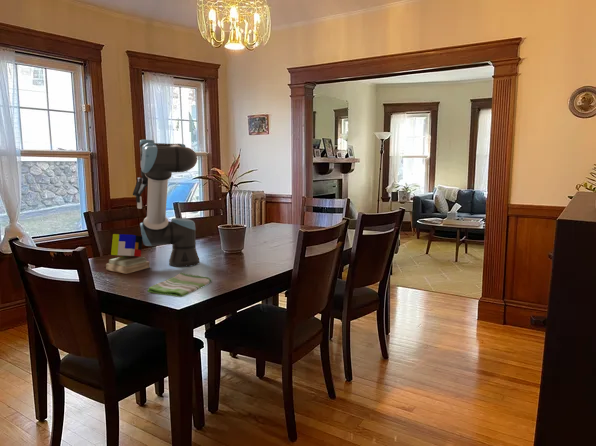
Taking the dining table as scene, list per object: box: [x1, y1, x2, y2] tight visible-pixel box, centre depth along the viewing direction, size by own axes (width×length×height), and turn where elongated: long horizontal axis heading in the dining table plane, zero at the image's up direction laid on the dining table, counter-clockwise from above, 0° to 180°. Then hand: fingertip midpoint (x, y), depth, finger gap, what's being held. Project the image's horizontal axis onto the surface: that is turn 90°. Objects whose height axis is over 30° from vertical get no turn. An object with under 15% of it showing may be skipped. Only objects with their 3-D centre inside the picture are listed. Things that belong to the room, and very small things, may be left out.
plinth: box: [105, 256, 150, 274], centre depth 214 cm, size 14×14×5 cm
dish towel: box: [147, 271, 212, 298], centre depth 185 cm, size 17×23×4 cm
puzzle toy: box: [110, 233, 143, 257], centre depth 215 cm, size 10×10×10 cm
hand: (149, 207), depth 242 cm, fingers open, 13 cm apart
